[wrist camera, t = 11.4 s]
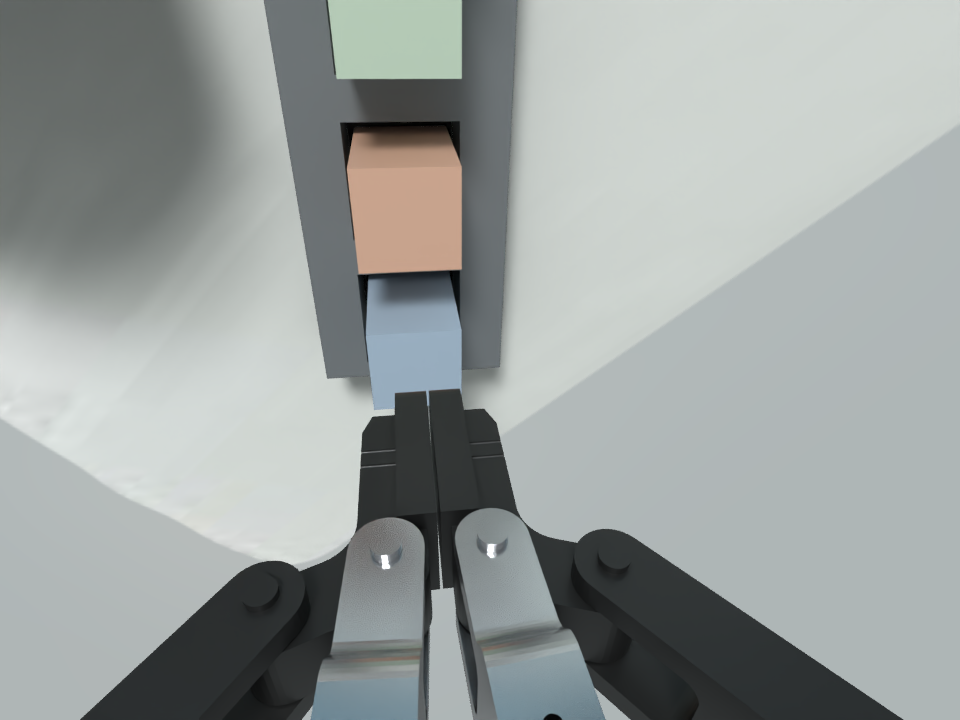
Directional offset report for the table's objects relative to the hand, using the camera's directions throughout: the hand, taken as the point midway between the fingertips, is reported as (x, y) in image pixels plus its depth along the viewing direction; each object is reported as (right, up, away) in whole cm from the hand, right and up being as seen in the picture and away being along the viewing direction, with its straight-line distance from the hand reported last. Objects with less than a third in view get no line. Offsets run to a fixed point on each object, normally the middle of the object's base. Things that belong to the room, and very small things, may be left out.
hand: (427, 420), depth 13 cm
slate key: (-3, +5, +20) cm, 21 cm away
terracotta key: (-3, +11, +16) cm, 19 cm away
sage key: (-3, +17, +11) cm, 21 cm away
